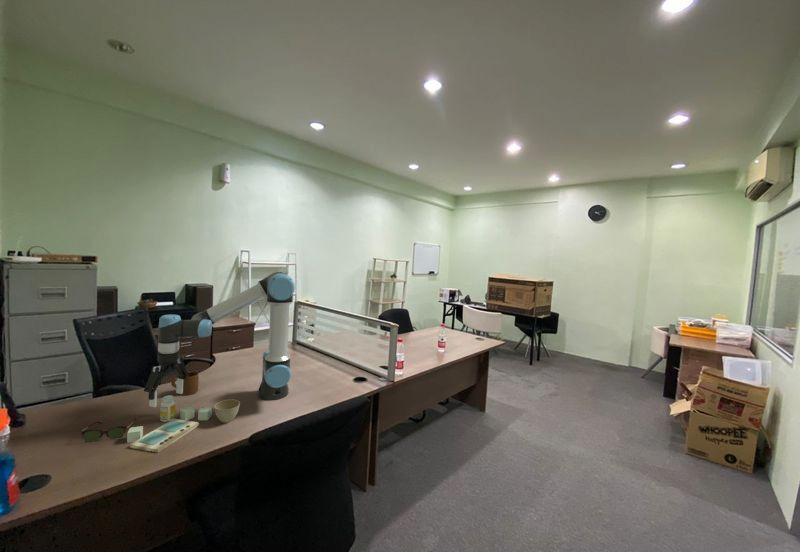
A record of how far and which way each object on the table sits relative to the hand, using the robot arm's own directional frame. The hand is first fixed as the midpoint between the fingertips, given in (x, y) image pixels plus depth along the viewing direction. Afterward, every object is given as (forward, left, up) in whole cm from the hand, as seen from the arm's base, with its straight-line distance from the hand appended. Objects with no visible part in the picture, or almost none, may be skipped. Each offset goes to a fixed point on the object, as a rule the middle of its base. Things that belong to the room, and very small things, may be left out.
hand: (166, 399), depth 146 cm
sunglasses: (+12, +13, -9) cm, 20 cm away
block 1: (-1, +16, -9) cm, 18 cm away
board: (-10, +11, -9) cm, 17 cm away
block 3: (-14, -5, -9) cm, 18 cm away
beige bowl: (-24, -6, -9) cm, 27 cm away
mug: (+12, -23, -9) cm, 27 cm away
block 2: (-7, -3, -9) cm, 12 cm away
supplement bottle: (0, 0, -9) cm, 9 cm away
